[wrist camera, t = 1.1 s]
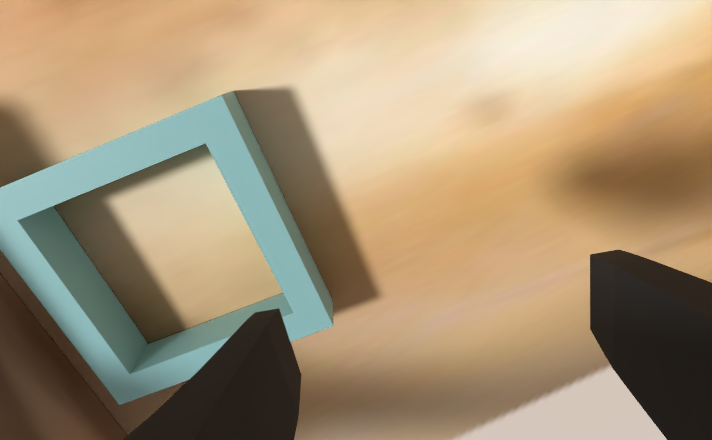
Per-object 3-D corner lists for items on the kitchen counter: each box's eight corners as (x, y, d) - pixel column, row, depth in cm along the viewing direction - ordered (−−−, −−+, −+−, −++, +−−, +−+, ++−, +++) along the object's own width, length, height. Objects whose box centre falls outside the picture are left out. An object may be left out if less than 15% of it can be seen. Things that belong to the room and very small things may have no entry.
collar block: (138, 372, 25) (119, 405, 23) (4, 186, 21) (-37, 202, 18) (332, 299, 24) (333, 326, 22) (233, 90, 20) (221, 95, 18)
